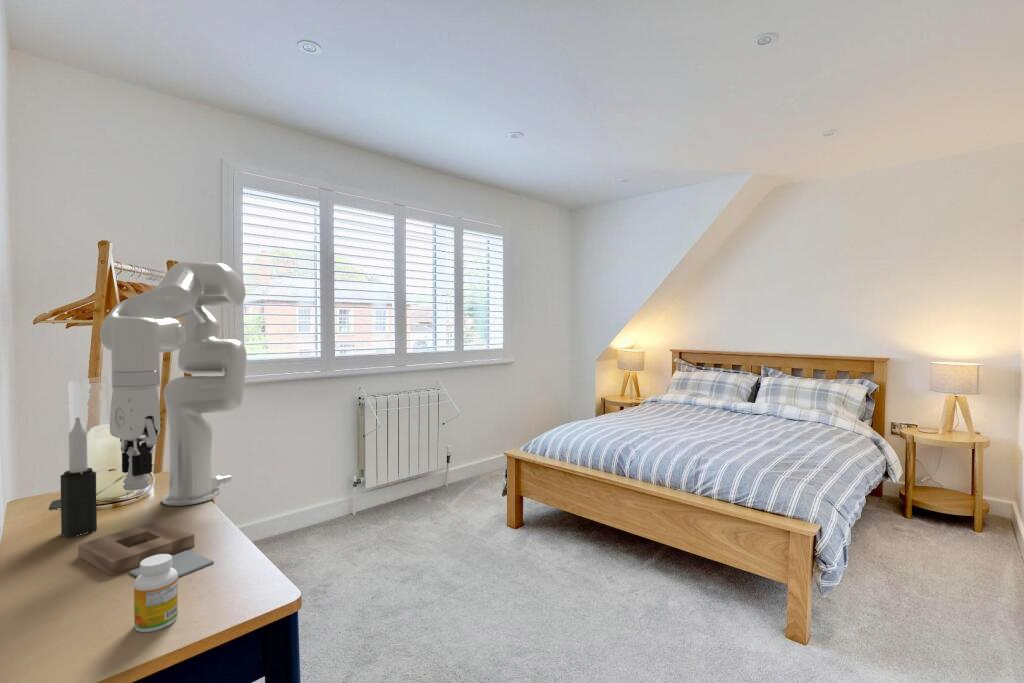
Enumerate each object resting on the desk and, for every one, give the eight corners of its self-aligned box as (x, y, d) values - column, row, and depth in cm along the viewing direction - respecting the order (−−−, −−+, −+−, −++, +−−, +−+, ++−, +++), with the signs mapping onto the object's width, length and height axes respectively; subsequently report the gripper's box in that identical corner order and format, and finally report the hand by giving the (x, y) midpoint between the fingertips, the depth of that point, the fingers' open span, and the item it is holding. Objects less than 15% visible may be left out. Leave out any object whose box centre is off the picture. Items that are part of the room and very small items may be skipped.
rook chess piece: (135, 491, 95) (135, 450, 95) (116, 489, 96) (116, 448, 96) (156, 484, 100) (156, 445, 100) (138, 482, 101) (137, 443, 101)
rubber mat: (188, 552, 99) (188, 550, 99) (213, 563, 94) (213, 561, 94) (129, 573, 90) (129, 571, 90) (154, 586, 86) (154, 584, 86)
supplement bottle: (135, 619, 76) (134, 557, 76) (177, 608, 79) (177, 548, 79) (133, 637, 72) (132, 571, 72) (178, 625, 75) (177, 562, 75)
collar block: (159, 531, 108) (158, 520, 108) (194, 546, 101) (194, 534, 101) (78, 557, 96) (78, 544, 96) (112, 576, 89) (112, 562, 89)
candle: (68, 539, 104) (66, 420, 103) (59, 533, 106) (57, 417, 106) (98, 530, 108) (97, 416, 107) (89, 525, 111) (87, 414, 110)
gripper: (93, 379, 98) (94, 470, 99) (134, 384, 90) (135, 484, 91) (137, 376, 105) (138, 462, 105) (179, 381, 97) (179, 474, 97)
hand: (137, 471), depth 98 cm, fingers closed on rook chess piece, 3 cm apart
